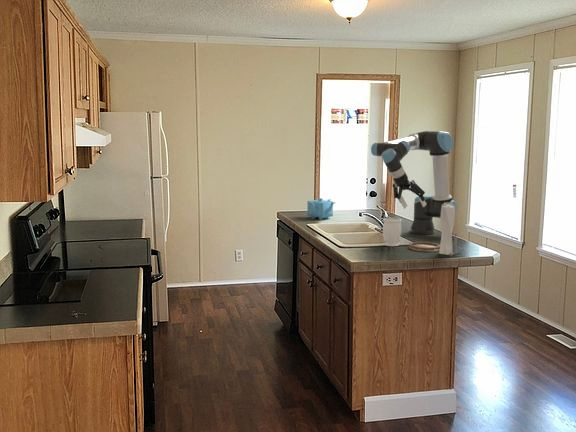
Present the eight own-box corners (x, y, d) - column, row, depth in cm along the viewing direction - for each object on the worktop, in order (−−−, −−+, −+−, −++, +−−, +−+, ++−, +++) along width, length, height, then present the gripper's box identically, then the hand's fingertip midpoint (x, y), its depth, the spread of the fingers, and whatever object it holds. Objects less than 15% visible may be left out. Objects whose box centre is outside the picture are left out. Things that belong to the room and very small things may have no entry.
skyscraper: (449, 256, 318) (452, 203, 314) (435, 254, 323) (438, 202, 319) (457, 254, 324) (459, 201, 320) (443, 251, 330) (445, 200, 325)
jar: (400, 247, 339) (401, 220, 336) (381, 246, 341) (382, 220, 338) (400, 243, 349) (401, 217, 347) (382, 242, 351) (383, 217, 349)
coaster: (413, 244, 348) (413, 240, 347) (443, 247, 340) (443, 243, 340) (405, 249, 333) (405, 246, 332) (436, 252, 325) (436, 249, 325)
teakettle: (305, 216, 446) (306, 196, 444) (331, 216, 448) (331, 196, 446) (309, 220, 427) (309, 200, 425) (335, 220, 429) (336, 200, 427)
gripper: (378, 181, 341) (394, 211, 349) (413, 176, 322) (429, 208, 329) (385, 173, 345) (401, 204, 353) (420, 168, 326) (436, 200, 333)
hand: (415, 206), depth 341 cm, fingers open, 13 cm apart
